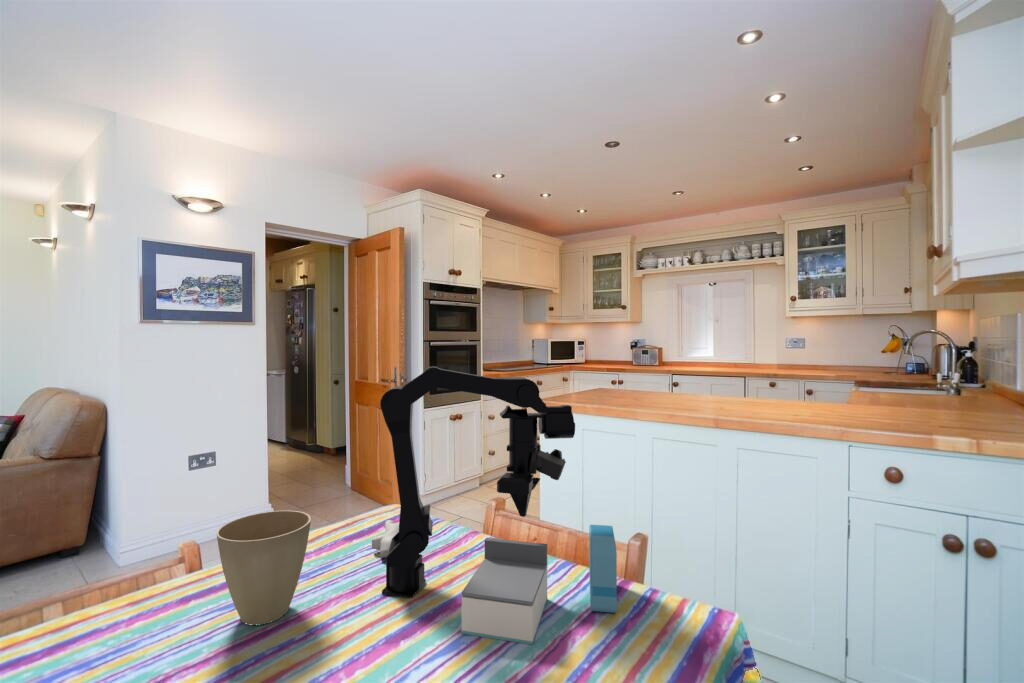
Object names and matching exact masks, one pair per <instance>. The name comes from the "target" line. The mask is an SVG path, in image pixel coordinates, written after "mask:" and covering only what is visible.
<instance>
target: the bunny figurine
mask: <svg viewBox="0 0 1024 683" xmlns="http://www.w3.org/2000/svg"><path fill="white" fill-rule="evenodd" d="M383 527H384V533H382V534H380V535H377V536H375V537H373V538H372V539H371V549H372V550H377V551H379V558H387V554H388V551H389V547H390V543H391V540H392V538H393V537H394V536H395V535H396V534H397V533H398V532H399V522H395V521H394V520H393V519H388V520H387V519H386V520H385V522H384V526H383Z"/></svg>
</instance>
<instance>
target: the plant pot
mask: <svg viewBox="0 0 1024 683" xmlns="http://www.w3.org/2000/svg"><path fill="white" fill-rule="evenodd" d="M311 521H312V517H311V515H310V514H308V513H306V512H304V511H303V512H302V511H298V510H272V511H271V510H270V511H264V512H259V513H253V514H249V515H245V516H242V517H238V518H236V519H233V520H230V521H228V522H227V523H225V524H224V525H222V526H220V527H219V528H218V530H217V531H216V539H217V545H218V552H219V558H220V563H221V568H222V572H223V575H224V579H225V582H226V585H227V588H228V591H229V594H230V597H231V600H232V602H233V605H234V607H235V610H236V611H237V614H238V616H239V618H240V620H241V622H242V621H243V622H244V623H247V624H252V625H251V626H253V625H256V624H257V625H256V626H259V625H258V624H264V623H268V624H270V623H269V622H271V621H273V622H275V621H274V620H276V619H278V618H279V619H281V618H282V617H284V616H285V615H286V614H287V612H288V611H289V608H290V606H291V603H292V600H293V598H294V594H295V593H296V592H295V591H296V589H297V585H298V583H299V580H300V576H301V573H302V569H303V565H304V562H305V556H306V552H307V547H308V542H309V541H308V540H309V536H310V529H311ZM285 613H286V614H285ZM284 614H285V615H284ZM283 615H284V616H283ZM280 617H281V618H280ZM279 619H278V620H279ZM276 621H277V620H276ZM243 622H242V623H243ZM244 623H243V624H244ZM271 623H272V622H271ZM247 624H246V625H247ZM264 625H265V624H264Z"/></svg>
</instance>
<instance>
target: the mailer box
mask: <svg viewBox="0 0 1024 683" xmlns="http://www.w3.org/2000/svg"><path fill="white" fill-rule="evenodd" d="M547 601H548V567H547V568H546V570H545V573H544V576H543V578H542V581H541V584H540V586H539V589H538V592H537V594H536V597H535V600H534V602H533V605H529V604H522V603H514V602H507V601H500V600H492V599H485V598H478V597H470V596H463V595H461V634H462V635H469V636H476V637H482V638H487V639H488V638H489V639H494V640H501V641H506V642H507V641H508V642H513V643H514V642H515V643H520V644H521V643H522V644H526V645H533V644H534V641H535V638H536V635H537V633H538V630H539V626H540V622H541V619H542V618H543V614H544V610H545V607H546V605H547Z"/></svg>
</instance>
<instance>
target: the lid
mask: <svg viewBox="0 0 1024 683" xmlns="http://www.w3.org/2000/svg"><path fill="white" fill-rule="evenodd" d="M546 568H547V569H548V543H540V542H531V541H530V542H529V541H521V540H511V539H510V540H509V539H501V538H494V537H493V538H489V537H486V538H485V539H484V558H483V560H482V561H481V563H480V565H479V566H478V568H477V569H476V571H475V572H474V574H473V575H472V576H471V578H470V580H469V581H468V582H467V584H466V585H465V587H464V588H463V589H462V591H461V596H470V597H478V598H485V599H492V600H500V601H507V602H514V603H522V604H529V605H533V602H534V600H535V597H536V594H537V592H538V589H539V586H540V584H541V581H542V578H543V576H544V573H545V570H546Z"/></svg>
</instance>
